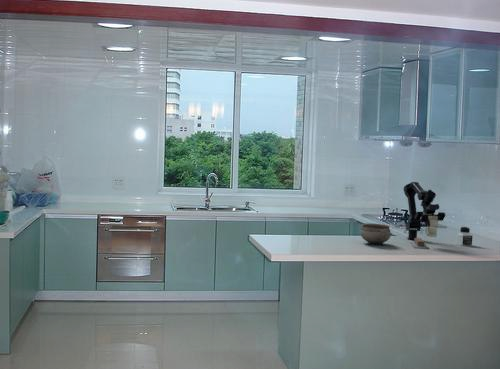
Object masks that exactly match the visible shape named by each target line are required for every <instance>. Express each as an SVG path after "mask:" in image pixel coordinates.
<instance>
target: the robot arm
mask: <svg viewBox="0 0 500 369" xmlns="http://www.w3.org/2000/svg"><path fill="white" fill-rule="evenodd" d="M403 192H404V193H403V194H404V196H406V198H407V204H408V213H409V218H408V221H407V224H406V225H405V230H406V231H408V237H406V238H407V240H408V241H409V240H410V241H412V240H413V241H414V238H418V232H420V231H421V229H422V223H423V224H425V225H426V226H427V227H428V226H429V227H430V223H429V221H428V216H437V217H438V222H437V226H438V224H439V221H440V222H441V221H442V222H443V221H444V219H445V218H446V212H440V211H439V212H438V213H437V214H436V211H437V210H439V209H440V205H439V203H435V204H432V203H433V202H434V200H435V199H436V196H437V194H436V192H435V191H433V190H432V189H428V190H426V189H424V188H423V187H422V186H421V185H420V183H419V182H418V181H411V182H409V183H407V184H406V185H404V186H403ZM416 195H417V197H415V196H416ZM415 198H417V199H418V201H421V202H420V203H421V204H420V207H422V211H417V206H416V199H415Z"/></svg>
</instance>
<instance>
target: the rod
mask: <svg viewBox="0 0 500 369" xmlns="http://www.w3.org/2000/svg"><path fill="white" fill-rule="evenodd" d="M428 221H429V223H430V227H429V226H428V225H427V228H426V237H428V238H437V237H438V236H437V233H438V225H437V222H438V223H439V221H438V217H437V216H428Z"/></svg>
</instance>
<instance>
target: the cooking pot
mask: <svg viewBox="0 0 500 369" xmlns="http://www.w3.org/2000/svg"><path fill="white" fill-rule="evenodd" d="M362 225H363V226H362V227H360V228H359V230H360V236H361V238H362V239H363V240H364V241H365V242H367V243H368V244H369V245H373V244H374V246H379V245H381V244H384V243H386V242H387V241H389V240H390V238H391V236H392V235H393V232H391V229H390V226H391V225H388V224H384V223H374V222H373V223H369V222H368V223H362Z"/></svg>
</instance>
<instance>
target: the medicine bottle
mask: <svg viewBox="0 0 500 369" xmlns="http://www.w3.org/2000/svg"><path fill="white" fill-rule="evenodd" d="M470 233H471V228H470V227H467V226H461V227H460V230H459V233H456V235H457V236H456V245H459V246H463V247H471V246H472V247H473V237H474V236H473V234H470Z"/></svg>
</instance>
